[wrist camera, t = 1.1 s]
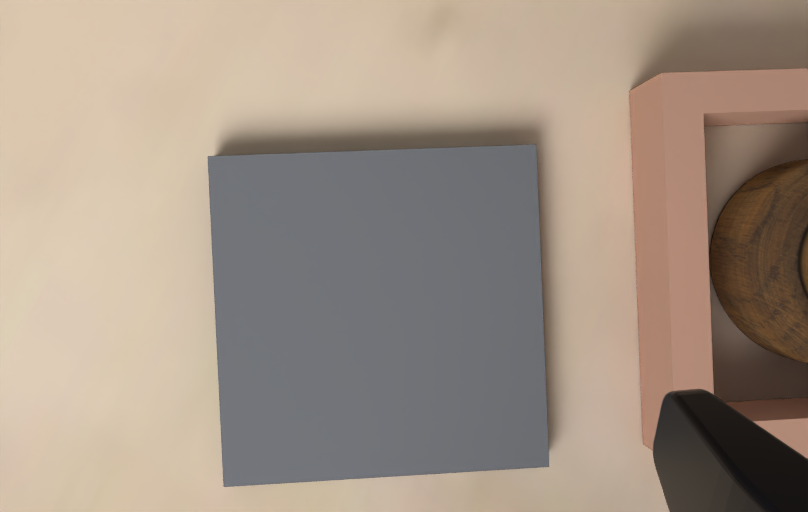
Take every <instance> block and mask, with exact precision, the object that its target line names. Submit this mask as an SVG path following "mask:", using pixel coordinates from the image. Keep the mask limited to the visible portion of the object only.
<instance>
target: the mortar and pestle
mask: <svg viewBox="0 0 808 512" xmlns="http://www.w3.org/2000/svg"><path fill="white" fill-rule="evenodd" d="M710 268H711V275H712V280H713V284H714V288H715V290H716V293H717V296H718V298H719V300H720V302H721V304H722V306H723V308H724V310H725V311H726V313H727V314H728V316H729V317H730V318H731V320H732V321H733V322H734V324H735V325H736V326H737V327H738V328H739V329H740V330H741V331H742V332H743V333H744V334H745V335H746V336H747V337H749V338H750V339H751V340H752V341H754V342H755V343H757V344H758V345H760V346H762V347H763V348H765V349H767V350H769V351H771V352H773V353H776V354H778V355H781V356H784V357H787V358H790V359H794V360H798V361H802V362H806V363H808V159H805V160H798V161H792V162H788V163H784V164H781V165H778V166H775V167H773V168H770V169H768V170H766V171H764V172H762V173H760V174H758V175H757V176H755V177H753V178H752V179H751V180H749V181H748V182H747V183H746V184H744V185H743V186H742V187H741V188H740V189H739V190H738V191H737V192H736V193H735V194H734V196H733V197H732V198H731V199H730V201H729V202H728V203H727V205H726V206H725V208H724V210H723V211H722V213H721V215H720V218H719V220H718V222H717V225H716V228H715V231H714V234H713V239H712V244H711V252H710Z"/></svg>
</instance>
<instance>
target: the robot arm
mask: <svg viewBox="0 0 808 512" xmlns="http://www.w3.org/2000/svg"><path fill="white" fill-rule="evenodd" d="M653 458H654V463H655V467H656V470H657V473H658V477H659V480H660V483H661V486H662V489H663V492H664V495H665V499H666V502H667V505H668V508H669V511H670V512H808V459H807V458H806V457H804V456H803V455H801V454H800V453H799V452H797V451H796V450H794V449H793V448H791V447H790V446H788V445H787V444H785V443H784V442H782V441H781V440H779V439H778V438H777V437H775V436H774V435H772V434H771V433H769V432H768V431H766V430H765V429H763V428H762V427H760V426H759V425H757V424H756V423H755V422H753V421H752V420H750V419H749V418H747V417H746V416H744V415H743V414H741V413H740V412H738V411H737V410H735V409H734V408H733V407H731V406H730V405H728V404H727V403H725V402H724V401H722V400H721V399H719V398H718V397H716V396H715V395H713V394H712V393H710V392H709V391H706V390H704V389H689V390H677V391H671V392H668V393H667V394H666V395H665V396H664V398H663V401H662V404H661V409H660V414H659V419H658V423H657V428H656V433H655V438H654V443H653Z"/></svg>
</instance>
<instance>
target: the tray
mask: <svg viewBox="0 0 808 512" xmlns="http://www.w3.org/2000/svg"><path fill="white" fill-rule="evenodd" d="M630 117H631V144H632V170H633V196H634V222H635V248H636V275H637V301H638V327H639V353H640V379H641V406H642V432H643V444H644V445H645V446H647V447H648V448H649V449H651V450H652V451H653V443H654V438H655V433H656V428H657V423H658V419H659V414H660V409H661V404H662V401H663V398H664V396H665V395H666V394H667V393H668V392H671V391H677V390H689V389H704V390H706V391H709V392H710V393H712V394H713V395H714V388H713V360H712V333H711V305H710V278H709V250H708V223H707V195H706V168H705V140H704V126H717V125H745V124H774V123H802V122H808V68H803V69H770V70H738V71H706V72H673V73H660V74H658V75H657V76H655V77H653V78H652V79H650V80H648V81H646V82H645V83H643V84H641V85H639V86H638V87H636V88H634V89H632V90H631V91H630ZM725 403H727V404H728V405H730V406H731V407H733V408H734V409H735V410H737V411H738V412H740V413H741V414H743V415H744V416H746V417H747V418H749V419H750V420H752V421H753V422H755V423H756V424H757V425H759V426H760V427H762V428H763V429H765V430H766V431H768V432H769V433H771V434H772V435H774V436H775V437H777V438H778V439H779V440H781V441H782V442H784V443H785V444H787V445H788V446H790V447H791V448H793V449H794V450H796V451H797V452H799V453H800V454H801V455H803V456H804V457H806V458H807V459H808V397H807V398H790V399H772V400H755V401H738V402H725Z"/></svg>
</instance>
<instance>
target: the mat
mask: <svg viewBox="0 0 808 512" xmlns="http://www.w3.org/2000/svg"><path fill="white" fill-rule="evenodd" d="M208 173H209V194H210V214H211V235H212V256H213V276H214V297H215V318H216V338H217V359H218V380H219V401H220V421H221V442H222V463H223V483H224V487H231V486H247V485H263V484H280V483H296V482H312V481H328V480H344V479H360V478H376V477H392V476H409V475H425V474H441V473H457V472H473V471H489V470H505V469H521V468H538V467H549V448H548V423H547V399H546V374H545V349H544V324H543V300H542V275H541V250H540V225H539V201H538V176H537V151H536V144H533V145H505V146H478V147H450V148H423V149H395V150H368V151H340V152H313V153H285V154H258V155H230V156H208Z"/></svg>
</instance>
